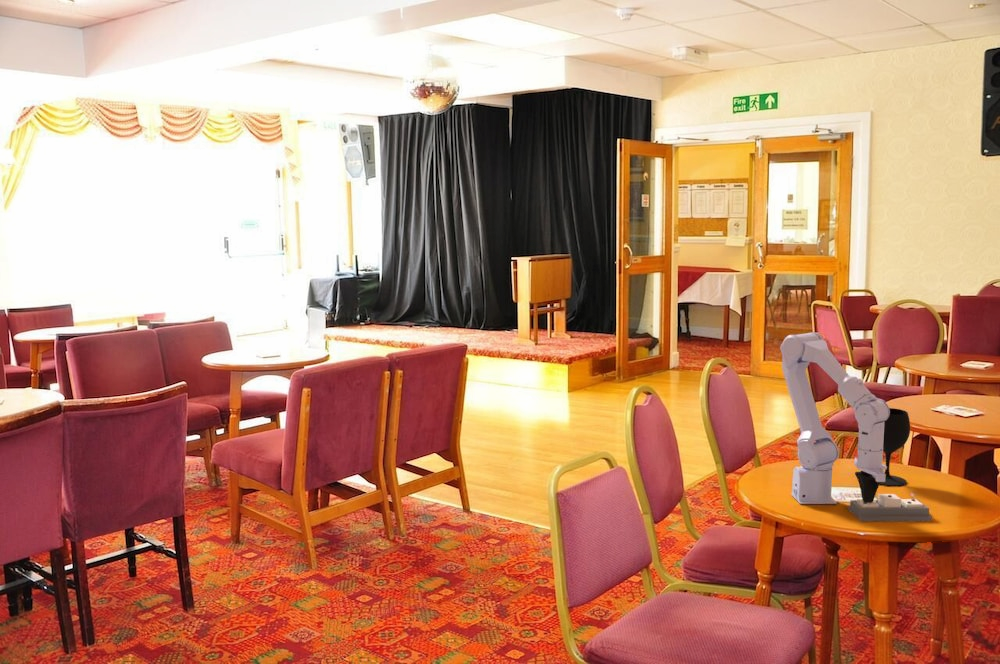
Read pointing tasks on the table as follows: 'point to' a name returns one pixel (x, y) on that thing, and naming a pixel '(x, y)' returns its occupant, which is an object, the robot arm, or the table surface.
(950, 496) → the table surface
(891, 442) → the wine glass
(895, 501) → the tile one
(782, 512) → the table surface
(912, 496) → the pencil
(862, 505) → the tile three
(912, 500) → the tile two
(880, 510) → the tile board
